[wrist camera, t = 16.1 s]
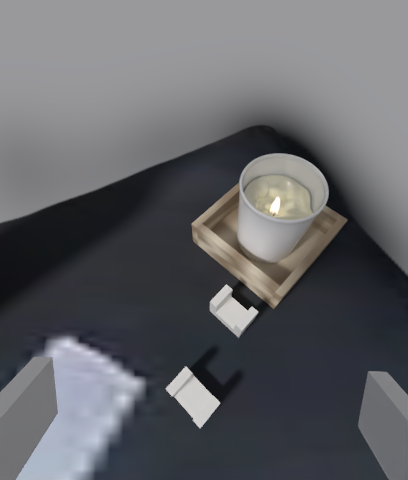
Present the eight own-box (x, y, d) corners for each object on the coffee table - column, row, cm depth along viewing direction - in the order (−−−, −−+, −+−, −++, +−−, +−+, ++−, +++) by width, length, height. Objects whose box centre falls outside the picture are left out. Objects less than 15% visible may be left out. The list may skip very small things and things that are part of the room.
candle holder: (294, 212, 45) (322, 153, 34) (302, 270, 40) (336, 223, 29) (231, 210, 45) (239, 151, 34) (231, 267, 40) (239, 219, 30)
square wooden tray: (193, 240, 43) (191, 223, 39) (255, 184, 48) (260, 163, 44) (273, 309, 38) (282, 297, 34) (334, 237, 43) (347, 219, 39)
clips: (152, 370, 34) (146, 367, 31) (224, 294, 39) (226, 284, 35) (200, 425, 32) (200, 428, 28) (272, 336, 36) (279, 330, 33)
